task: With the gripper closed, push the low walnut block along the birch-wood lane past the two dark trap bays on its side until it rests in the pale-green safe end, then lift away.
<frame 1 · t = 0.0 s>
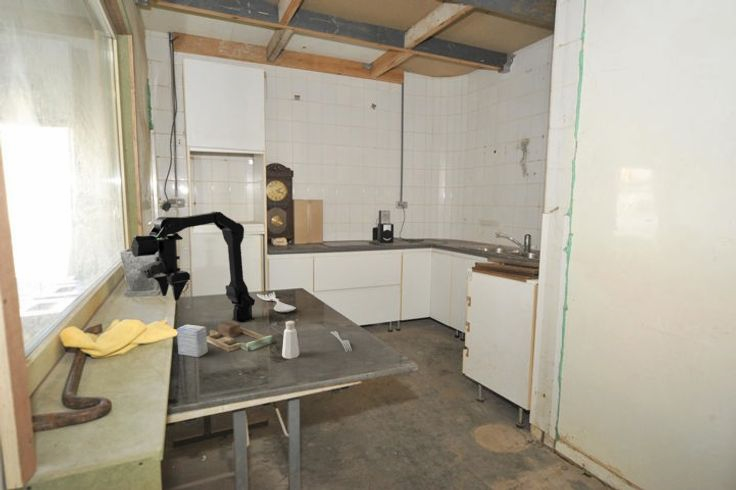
hand: (170, 298, 134), 15 cm above the table, fingers open, 9 cm apart
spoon: (276, 306, 178), on the table
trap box: (240, 338, 136), on the table
block: (229, 334, 141), resting in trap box
medicine box: (193, 354, 123), on the table
salt shaker: (290, 356, 122), on the table
wrench: (280, 332, 144), on the table
fork: (340, 342, 135), on the table
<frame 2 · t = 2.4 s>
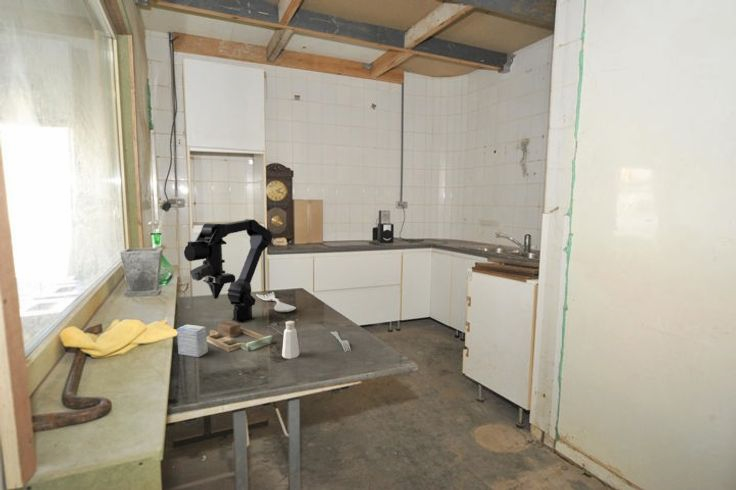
hand: (215, 298, 145), 12 cm above the table, fingers closed
nothing on the table moved.
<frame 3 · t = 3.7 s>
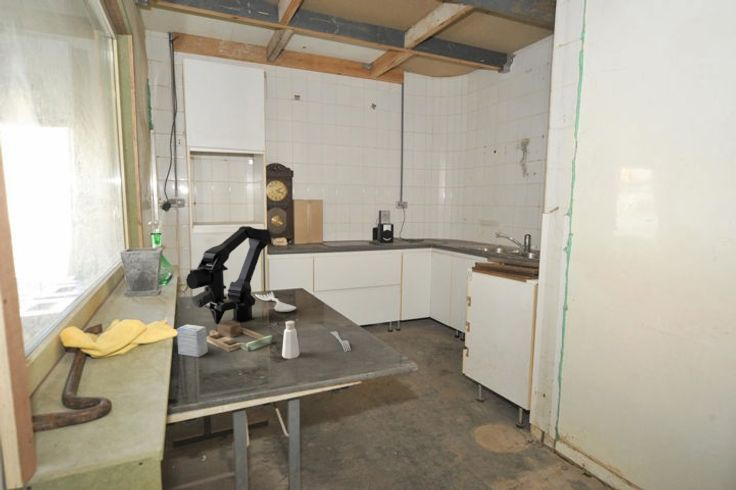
hand: (217, 324, 146), 2 cm above the table, fingers closed
nothing on the table moved.
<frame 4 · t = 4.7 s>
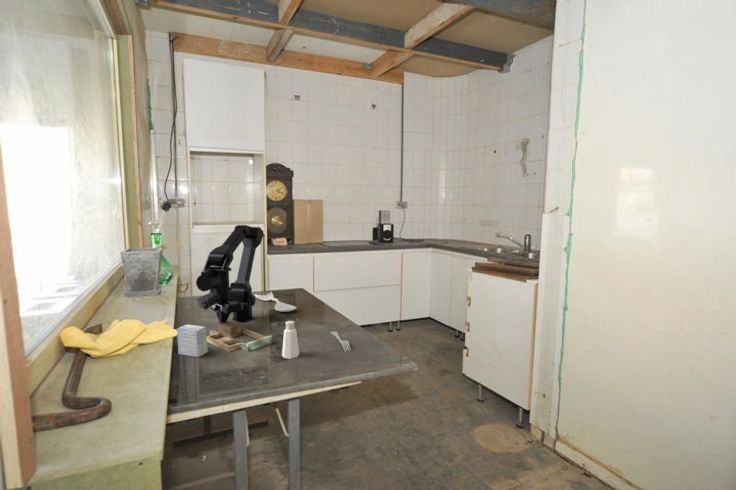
hand: (222, 326, 143), 2 cm above the table, fingers closed
block: (229, 335, 140), resting in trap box, touching gripper
everything else where it was.
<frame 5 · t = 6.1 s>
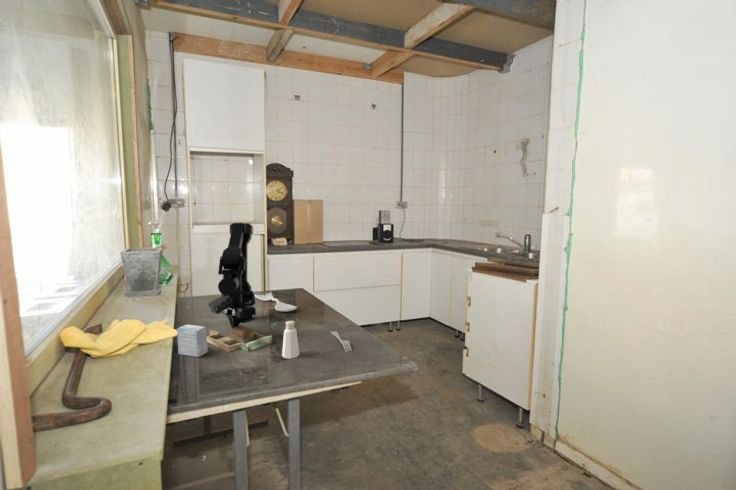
hand: (234, 330, 138), 2 cm above the table, fingers closed
block: (242, 339, 135), resting in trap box, touching gripper
everything else where it was.
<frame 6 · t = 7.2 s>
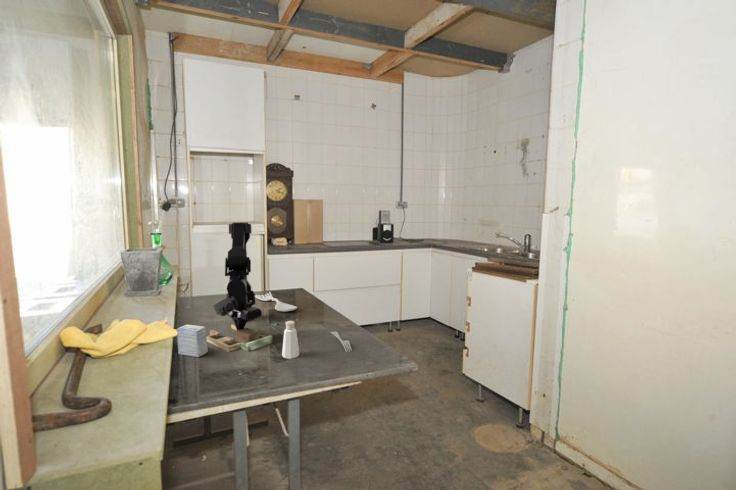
hand: (239, 333, 136), 2 cm above the table, fingers closed
block: (247, 342, 133), resting in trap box, touching gripper
everything else where it was.
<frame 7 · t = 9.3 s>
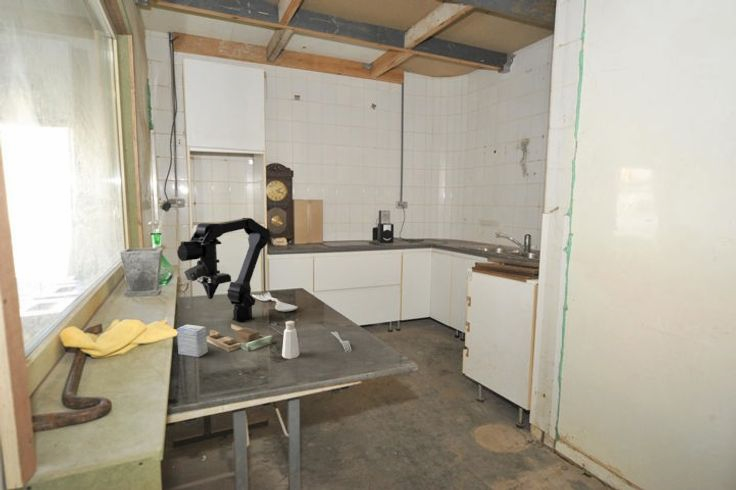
hand: (210, 298, 144), 12 cm above the table, fingers closed
block: (247, 342, 133), resting in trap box
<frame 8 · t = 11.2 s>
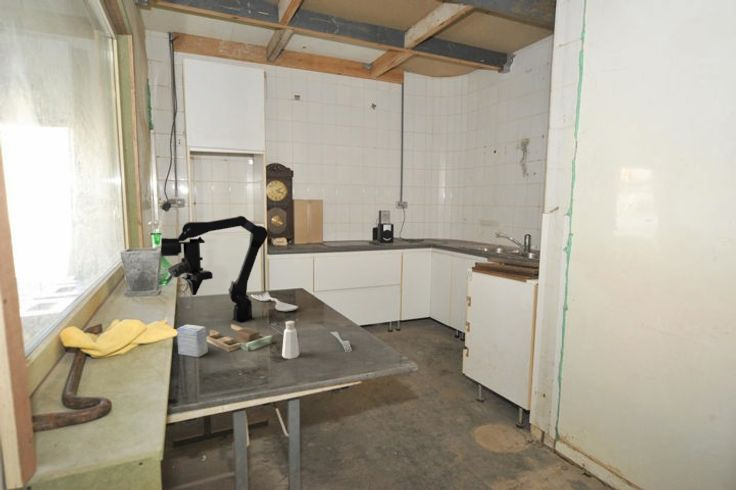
hand: (194, 295, 149), 12 cm above the table, fingers closed
at the end: block inside the target area (1.0 cm from its centre), resting in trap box; block tilted 0°; block moved 11.8 cm from its start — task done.
